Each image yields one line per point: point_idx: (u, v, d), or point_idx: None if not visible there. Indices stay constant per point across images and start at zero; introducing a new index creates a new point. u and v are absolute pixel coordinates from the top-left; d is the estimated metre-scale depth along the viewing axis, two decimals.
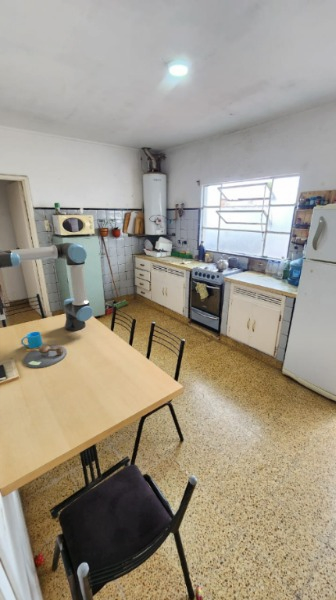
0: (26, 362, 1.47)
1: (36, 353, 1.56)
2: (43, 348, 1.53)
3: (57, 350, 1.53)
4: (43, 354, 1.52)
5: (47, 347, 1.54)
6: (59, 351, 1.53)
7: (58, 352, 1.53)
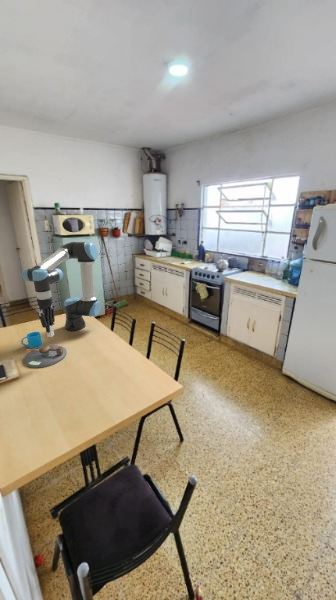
0: (26, 362, 1.47)
1: (36, 353, 1.56)
2: (43, 348, 1.53)
3: (57, 350, 1.53)
4: (43, 354, 1.52)
5: (47, 347, 1.54)
6: (59, 351, 1.53)
7: (58, 352, 1.53)
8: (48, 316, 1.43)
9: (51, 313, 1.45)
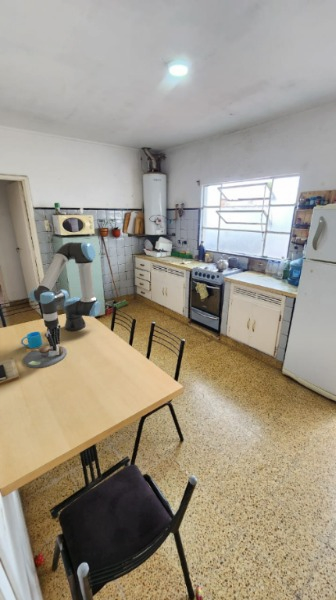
0: (26, 362, 1.47)
1: (36, 353, 1.56)
2: (43, 348, 1.53)
3: None
4: (43, 354, 1.52)
5: (47, 347, 1.54)
6: (59, 351, 1.53)
7: None
8: None
9: (57, 333, 1.52)
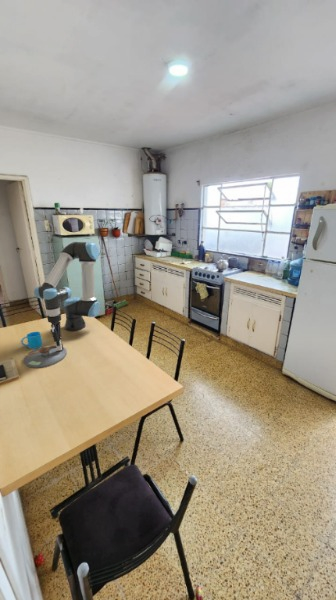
0: (26, 362, 1.47)
1: (36, 353, 1.56)
2: (43, 348, 1.53)
3: None
4: (43, 354, 1.52)
5: (46, 346, 1.55)
6: None
7: None
8: None
9: None
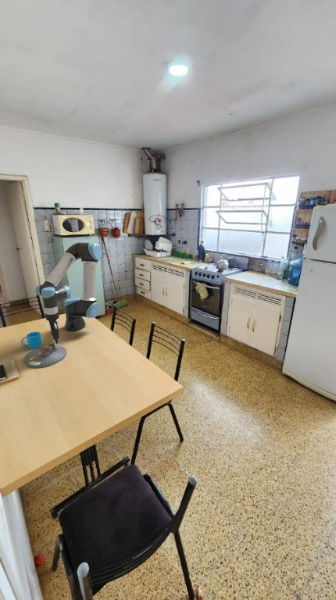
0: (26, 362, 1.47)
1: (36, 353, 1.56)
2: (44, 348, 1.53)
3: None
4: (43, 354, 1.52)
5: (45, 346, 1.55)
6: None
7: None
8: None
9: None
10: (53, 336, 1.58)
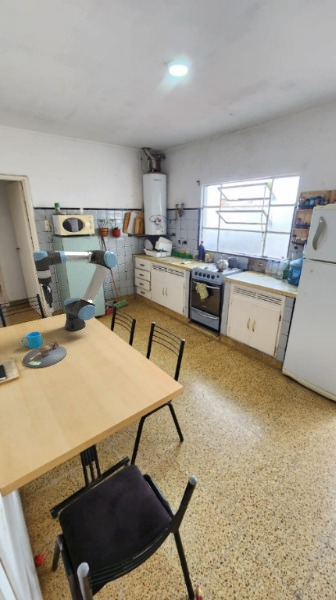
0: (26, 362, 1.47)
1: (36, 353, 1.56)
2: (44, 348, 1.53)
3: (55, 343, 1.61)
4: (43, 354, 1.52)
5: (45, 346, 1.55)
6: (57, 343, 1.62)
7: (56, 345, 1.62)
8: None
9: None
10: None
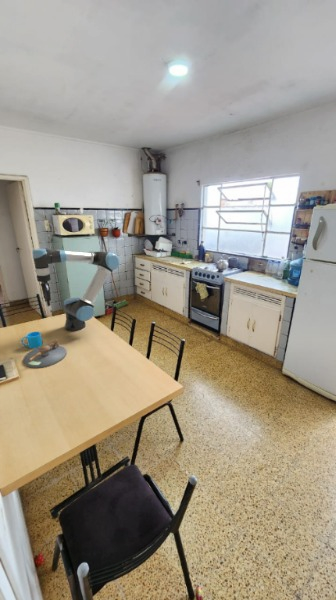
0: (26, 362, 1.47)
1: (36, 353, 1.56)
2: (44, 348, 1.53)
3: (55, 343, 1.61)
4: (43, 354, 1.52)
5: (45, 346, 1.55)
6: (57, 343, 1.62)
7: (56, 345, 1.62)
8: None
9: None
10: (45, 298, 1.61)
